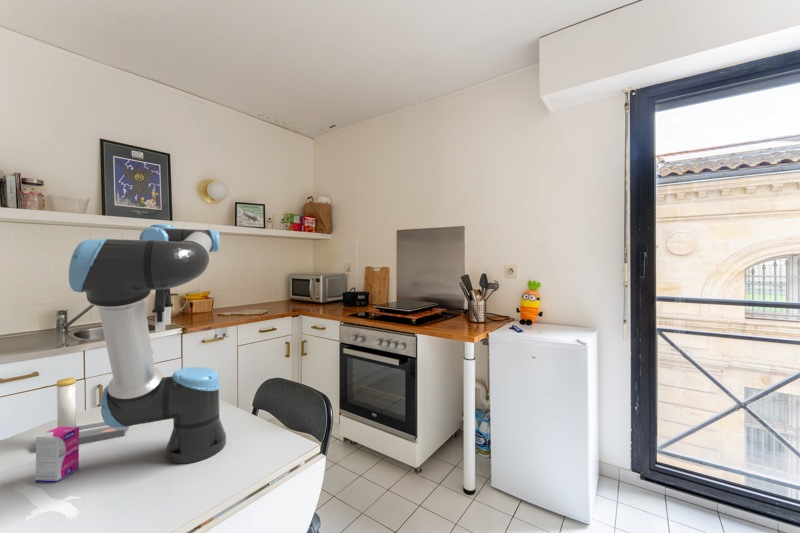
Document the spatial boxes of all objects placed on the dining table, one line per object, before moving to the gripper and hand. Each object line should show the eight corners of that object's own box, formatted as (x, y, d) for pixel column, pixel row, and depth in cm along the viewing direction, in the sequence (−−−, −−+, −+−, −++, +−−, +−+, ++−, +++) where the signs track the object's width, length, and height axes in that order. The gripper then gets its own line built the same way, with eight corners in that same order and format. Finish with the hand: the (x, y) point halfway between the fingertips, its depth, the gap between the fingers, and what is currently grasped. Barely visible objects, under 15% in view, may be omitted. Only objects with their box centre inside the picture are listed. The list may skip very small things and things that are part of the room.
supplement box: (58, 483, 84) (57, 437, 84) (34, 482, 84) (33, 437, 84) (80, 468, 90) (79, 426, 90) (58, 468, 90) (57, 426, 90)
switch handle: (78, 427, 107) (77, 377, 107) (73, 433, 103) (72, 381, 103) (60, 430, 105) (59, 379, 105) (54, 437, 101) (53, 383, 101)
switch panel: (131, 422, 116) (131, 413, 116) (124, 435, 107) (124, 426, 107) (52, 436, 106) (52, 426, 106) (36, 452, 98) (36, 441, 98)
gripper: (170, 268, 111) (171, 333, 111) (179, 267, 133) (179, 321, 133) (142, 269, 107) (143, 335, 108) (156, 267, 129) (156, 323, 130)
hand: (163, 328), depth 120 cm, fingers open, 13 cm apart
